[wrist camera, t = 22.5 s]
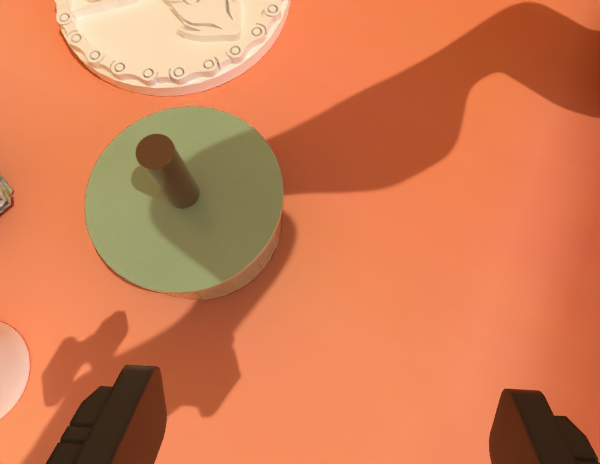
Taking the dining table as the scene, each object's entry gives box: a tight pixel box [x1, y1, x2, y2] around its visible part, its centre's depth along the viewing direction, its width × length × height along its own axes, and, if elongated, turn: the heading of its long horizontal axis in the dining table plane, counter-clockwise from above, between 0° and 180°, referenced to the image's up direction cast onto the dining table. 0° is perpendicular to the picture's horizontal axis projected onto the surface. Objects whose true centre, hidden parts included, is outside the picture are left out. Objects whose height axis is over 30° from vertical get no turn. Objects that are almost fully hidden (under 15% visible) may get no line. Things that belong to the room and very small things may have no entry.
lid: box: [85, 106, 284, 294], centre depth 34 cm, size 15×15×8 cm
